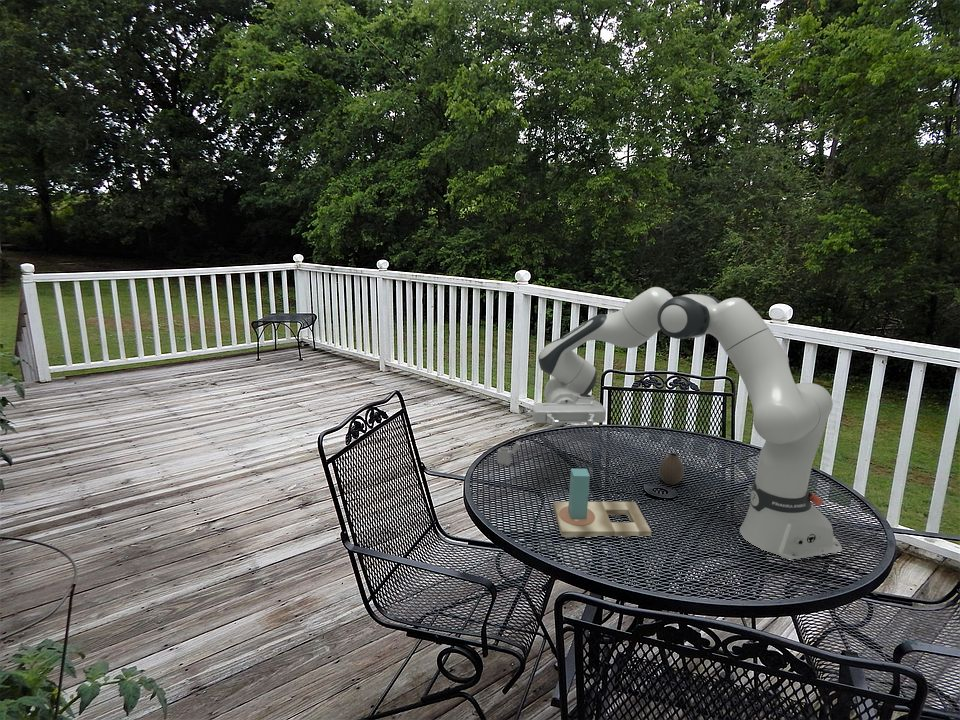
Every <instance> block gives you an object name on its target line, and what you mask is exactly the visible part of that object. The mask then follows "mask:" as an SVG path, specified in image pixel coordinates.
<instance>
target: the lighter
mask: <svg viewBox="0 0 960 720" xmlns="http://www.w3.org/2000/svg"><path fill="white" fill-rule="evenodd" d="M521 444H522V442H521V441H520V440H517V441H516V443H514V446H513V447H512V449H511V450H510V449H509V448H508V447H507V446H502V447H500V448H498V449H497V453H496V454H497V457H496V459H497V460H496V464H499V465H506V466H510V465H511V464H512V455H514V456H515V454H516V453H517V451H518V449H519V447H520V445H521Z"/></svg>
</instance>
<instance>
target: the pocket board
mask: <svg viewBox="0 0 960 720" xmlns="http://www.w3.org/2000/svg"><path fill="white" fill-rule="evenodd" d="M552 505H553V506H552V509H553V512H554V516H556V517H555V520H556V524H557V523H558V524H557V526H559V528H558V530H560V531H559V534H560V533H561V535H560V537H561V536H562V537H575V536H576V537H577V536H578V537H591V536H592V537H593V536H620V537H621V536H622V537H628V536H629V537H630V536H651V537H652V529H651V528H650V526H649V524H648V522H647V521H646V519H645V518H644V516H643V514H642V512H641V510H640V508H639V506H638V504H637V503H636V501H588V507H587V509H589V510H591V511H592V512H593V513H594V515H595V520H594V521H593V522H592V523H591V524H589V525H584V526H577V525H572V524H569V523H566V522H565V521H563V520H562V519H561V518H560V516H559V512H560V510H561V509H562V508H564V507H567V506H568V505H569V501H553V504H552ZM608 515H611V516H608ZM612 515H616V516H615V517H620V516H619V515H628V517H629V519H630V520H631V522H630V521H629V522H623V521H619V522H618V521H617V522H616V521H615V522H614V521H613V522H612V521H611V519H610V518H609V517H613V516H612ZM628 517H627V518H628ZM629 519H628V520H629Z"/></svg>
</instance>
